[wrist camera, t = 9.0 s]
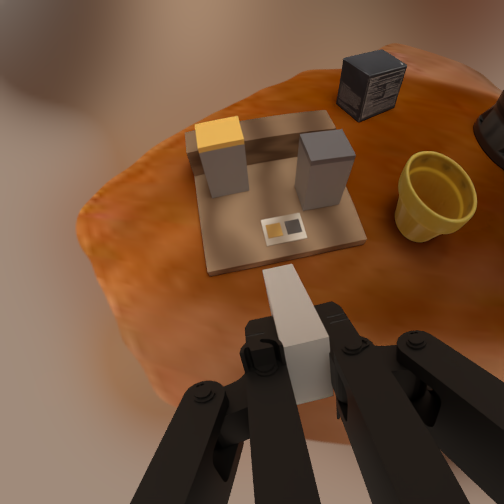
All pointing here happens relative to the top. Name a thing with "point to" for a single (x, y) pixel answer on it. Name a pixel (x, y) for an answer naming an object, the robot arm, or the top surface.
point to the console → (270, 201)
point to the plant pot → (433, 197)
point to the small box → (370, 84)
